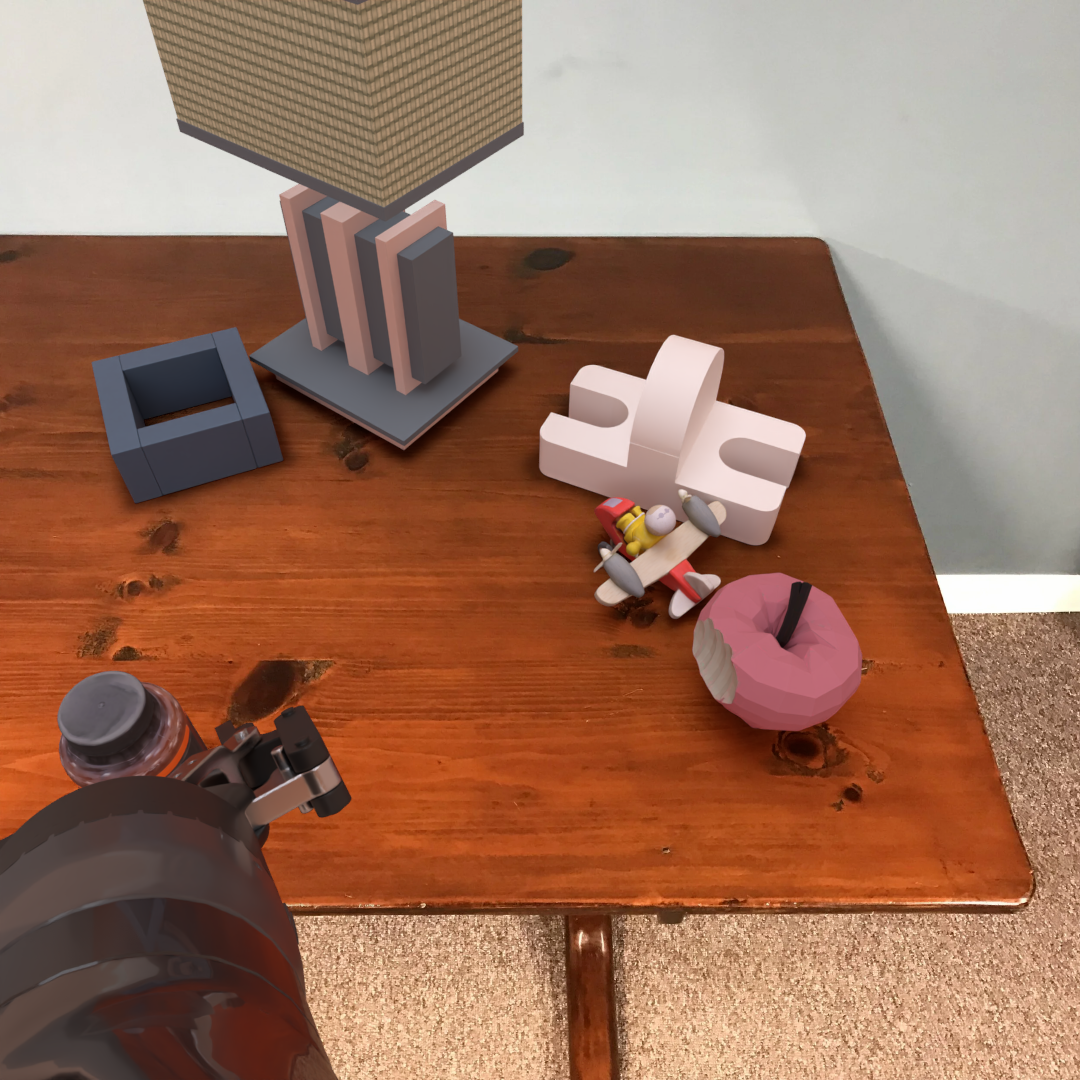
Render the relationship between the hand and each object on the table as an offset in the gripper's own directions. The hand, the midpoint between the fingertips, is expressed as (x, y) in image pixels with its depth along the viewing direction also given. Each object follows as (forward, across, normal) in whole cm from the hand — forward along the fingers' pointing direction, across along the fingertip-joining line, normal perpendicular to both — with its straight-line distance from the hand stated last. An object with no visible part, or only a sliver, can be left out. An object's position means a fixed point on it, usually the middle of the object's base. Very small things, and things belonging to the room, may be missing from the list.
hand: (131, 799), depth 36 cm
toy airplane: (+14, -33, +7) cm, 36 cm away
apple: (+6, -32, +15) cm, 36 cm away
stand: (+36, -12, -15) cm, 40 cm away
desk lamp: (+34, -28, -14) cm, 46 cm away
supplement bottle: (+16, 0, +5) cm, 16 cm away
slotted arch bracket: (+19, -40, +2) cm, 45 cm away
